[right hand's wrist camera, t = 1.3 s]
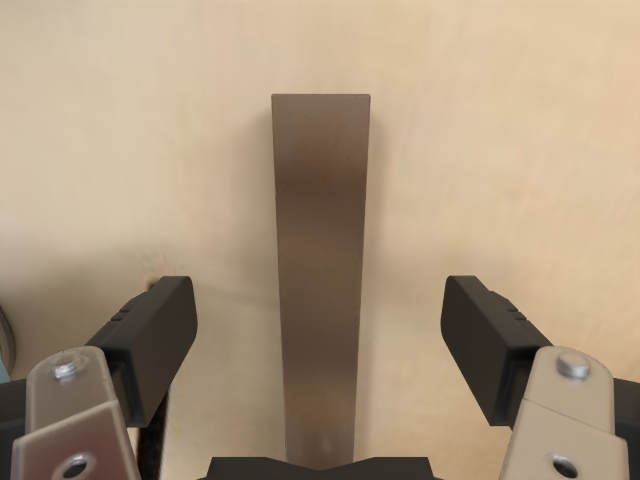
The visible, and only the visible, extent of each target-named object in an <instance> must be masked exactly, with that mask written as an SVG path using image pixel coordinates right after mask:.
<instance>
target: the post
mask: <svg viewBox="0 0 640 480" xmlns="http://www.w3.org/2000/svg"><path fill="white" fill-rule="evenodd" d="M370 99H371V96H370V95H369V94H272V96H271V100H272V124H273V149H274V173H275V197H276V221H277V245H278V270H279V294H280V318H281V342H282V366H283V390H284V415H285V439H286V463H290V464H294V465H298V466H302V467H306V468H309V469H313V470H327V469H331V468H334V467H338V466H342V465H346V464H350V463H353V450H354V429H355V409H356V388H357V367H358V347H359V326H360V305H361V285H362V264H363V244H364V223H365V202H366V182H367V161H368V140H369V120H370Z"/></svg>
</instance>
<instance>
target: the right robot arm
mask: <svg viewBox="0 0 640 480" xmlns="http://www.w3.org/2000/svg"><path fill="white" fill-rule="evenodd" d="M197 325H198V322H197V314H196V306H195V299H194V292H193V285H192V281H191V279H190V277H189V276H163V277H162V278H161V279H160V280H159V281H158V282H157V283H156V284H155V285H154V286H153V287H152V288H151V289H150V290H149V292H144V293H142V294H140V295H138V296H136V297H135V298H133V299H131V300H129V301H128V302H127V303H126V304H125V305H124V306H123V307H122V308H121V309H120V310H119V313H116V314H115V315H114V316H113V317H112V318H111V321H108V322H107V323H106V324H105V325H104V326H103V327H102V328H101V329H100V330H99V331H98V332H97V333H96V334H95V335H94V336H93V337H92V338H91V339H90V340H89V341H88V342H87V343H86V344H85V345H84V346H80V347H74V348H70V349H66V350H63V351H60V352H58V353H55V354H53V355H51V356H49V357H47V358H46V359H44V360H42V361H41V362H40V363H38V364H37V365H36V366H35V367H34V368H33V369H32V370H31V371H30V372H29V374H28V376H27V378H25V379H21V380H16V381H11V382H6V383H1V384H0V480H141V477H140V473H139V470H138V466H137V463H136V459H135V456H134V453H133V449H132V446H131V442H130V439H129V435H128V432H127V428H128V427H147V426H148V425H149V423H150V421H151V419H152V417H153V415H154V414H155V412H156V410H157V408H158V406H159V404H160V403H161V401H162V399H163V397H164V395H165V393H166V392H167V390H168V388H169V386H170V384H171V382H172V381H173V379H174V377H175V375H176V373H177V371H178V370H179V368H180V366H181V364H182V362H183V360H184V359H185V357H186V355H187V353H188V351H189V349H190V348H191V346H192V344H193V342H194V340H195V338H196V334H197ZM441 332H442V336H443V339H444V341H445V343H446V345H447V347H448V349H449V350H450V352H451V354H452V356H453V358H454V360H455V362H456V363H457V365H458V367H459V369H460V371H461V373H462V375H463V376H464V378H465V380H466V382H467V384H468V386H469V388H470V389H471V391H472V393H473V395H474V397H475V399H476V401H477V402H478V404H479V406H480V408H481V410H482V412H483V414H484V415H485V417H486V419H487V421H488V423H489V425H490V426H510V428H511V430H512V431H513V432H512V435H511V439H510V442H509V446H508V449H507V453H506V456H505V459H504V463H503V466H502V470H501V473H500V477H499V480H640V383H637V382H632V381H627V380H622V379H617V378H613V376H612V374H611V372H610V371H609V370H608V369H607V368H606V367H605V366H604V365H603V364H602V363H600V362H599V361H598V360H596V359H594V358H593V357H591V356H589V355H587V354H585V353H582V352H580V351H577V350H574V349H570V348H566V347H560V346H554V345H553V344H552V343H551V342H550V341H549V340H548V339H547V338H546V337H545V336H544V335H543V334H542V333H541V332H540V331H539V330H538V329H537V328H536V327H535V326H534V325H533V324H532V323H531V322H530V321H529V320H527V319H526V317H525V316H524V315H523V314H522V313H521V312H518V309H517V308H516V307H515V306H514V305H513V304H512V303H511V302H510V301H509V300H508V299H506V298H504V297H502V296H501V295H499V294H497V293H495V292H493V291H489V290H488V289H487V288H486V287H485V286H484V285H483V284H482V283H481V282H480V281H479V280H478V278H477V277H475V276H449V277H448V278H447V280H446V285H445V292H444V299H443V307H442V314H441ZM197 480H443V479H440V478H436V477H434V476H433V473H432V470H431V467H430V463H429V460H428V457H373V458H369V459H366V460H362V461H358V462H354V463H350V464H346V465H342V466H338V467H334V468H331V469H327V470H313V469H309V468H306V467H302V466H298V465H294V464H290V463H286V462H282V461H278V460H274V459H271V458H267V457H212V460H211V463H210V467H209V470H208V473H207V476H206V477H204V478H200V479H197Z"/></svg>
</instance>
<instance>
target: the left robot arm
mask: <svg viewBox="0 0 640 480" xmlns="http://www.w3.org/2000/svg"><path fill="white" fill-rule="evenodd" d="M14 358H15V349H14V342H13V337H12V334H11V331H10V328H9V326H8V323H7V321H6V319H5V318H4V316H3V314H2V312H1V311H0V384H1V383H6V382H10V379H9V375H10V373H11V371H12V368H13V364H14Z"/></svg>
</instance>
